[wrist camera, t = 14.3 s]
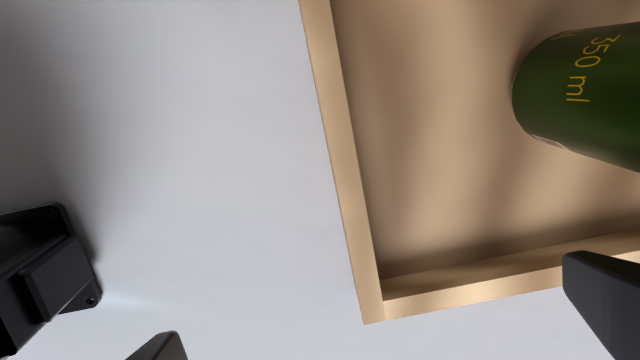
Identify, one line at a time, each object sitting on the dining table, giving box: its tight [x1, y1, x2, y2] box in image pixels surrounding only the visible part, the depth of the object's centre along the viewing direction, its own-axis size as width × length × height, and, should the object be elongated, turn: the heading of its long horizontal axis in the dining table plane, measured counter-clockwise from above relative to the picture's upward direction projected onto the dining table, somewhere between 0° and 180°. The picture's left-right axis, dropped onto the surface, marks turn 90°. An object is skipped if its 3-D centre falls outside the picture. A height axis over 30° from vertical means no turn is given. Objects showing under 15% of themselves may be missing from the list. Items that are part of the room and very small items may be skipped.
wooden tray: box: [298, 0, 640, 325], centre depth 19 cm, size 18×18×3 cm
